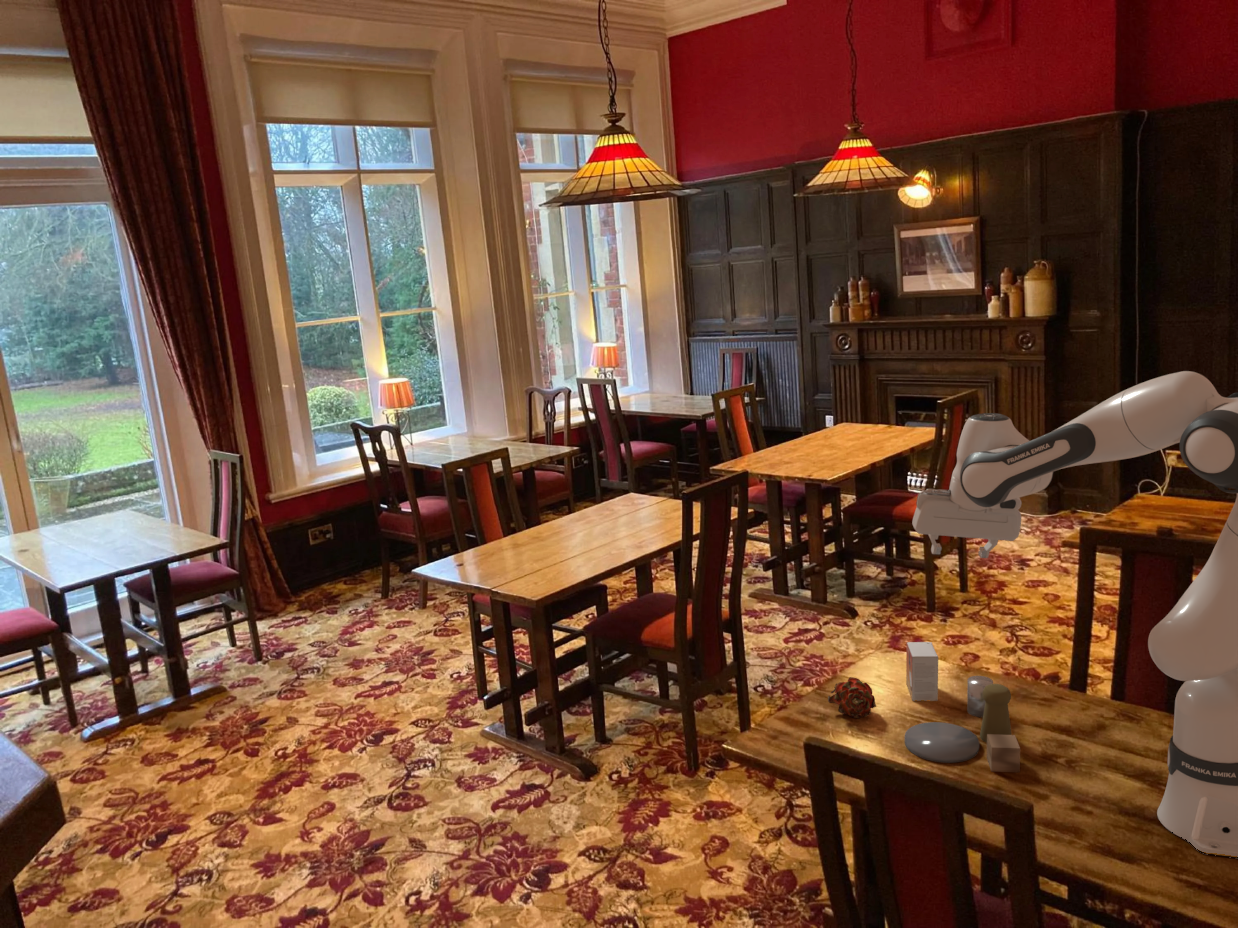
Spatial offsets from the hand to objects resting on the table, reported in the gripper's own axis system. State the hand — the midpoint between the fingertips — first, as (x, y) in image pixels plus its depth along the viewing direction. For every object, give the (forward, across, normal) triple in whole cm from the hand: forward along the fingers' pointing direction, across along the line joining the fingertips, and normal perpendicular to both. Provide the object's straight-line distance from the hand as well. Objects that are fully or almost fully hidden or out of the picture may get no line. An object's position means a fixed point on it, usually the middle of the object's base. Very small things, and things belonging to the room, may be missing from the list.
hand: (959, 554), depth 194 cm
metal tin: (+35, +10, -3) cm, 36 cm away
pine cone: (+39, -16, -2) cm, 42 cm away
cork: (+33, +10, -14) cm, 37 cm away
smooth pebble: (+34, -1, -16) cm, 38 cm away
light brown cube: (+32, +8, -24) cm, 41 cm away
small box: (+38, +1, +6) cm, 38 cm away
